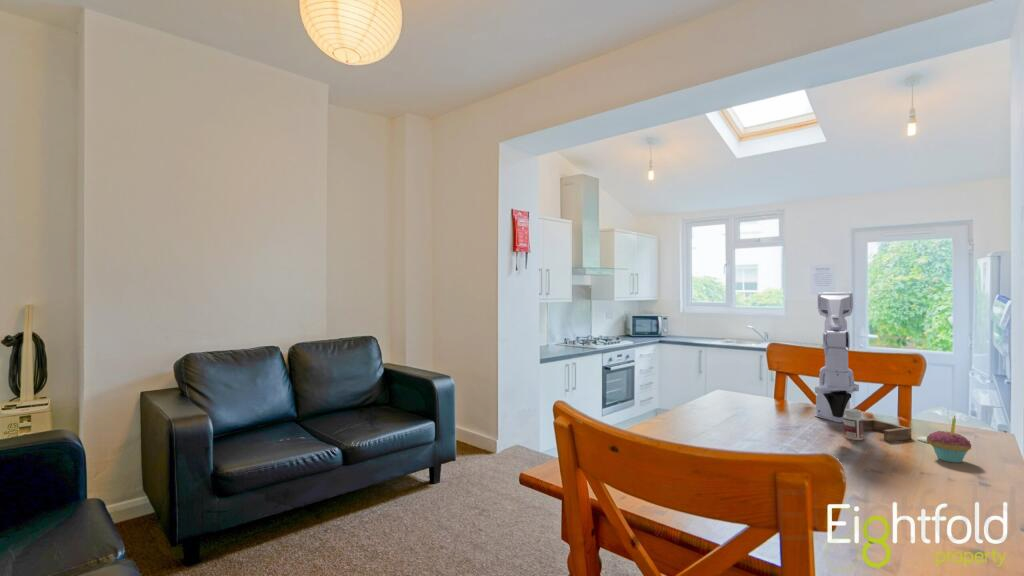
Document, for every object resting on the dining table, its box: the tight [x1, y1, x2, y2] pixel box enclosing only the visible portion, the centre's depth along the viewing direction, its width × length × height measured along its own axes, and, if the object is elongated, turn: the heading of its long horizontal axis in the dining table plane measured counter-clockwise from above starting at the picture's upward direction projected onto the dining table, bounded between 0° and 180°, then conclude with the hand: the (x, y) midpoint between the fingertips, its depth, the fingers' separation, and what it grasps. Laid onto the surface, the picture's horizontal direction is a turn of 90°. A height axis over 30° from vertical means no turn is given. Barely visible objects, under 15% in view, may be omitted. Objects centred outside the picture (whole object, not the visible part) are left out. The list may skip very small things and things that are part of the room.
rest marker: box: [916, 436, 929, 444], centre depth 138 cm, size 6×6×1 cm
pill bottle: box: [843, 408, 864, 441], centre depth 141 cm, size 5×5×8 cm
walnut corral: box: [863, 418, 912, 443], centre depth 144 cm, size 11×9×3 cm
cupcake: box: [926, 415, 972, 464], centre depth 123 cm, size 9×8×12 cm
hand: (837, 416), depth 140 cm, fingers closed
